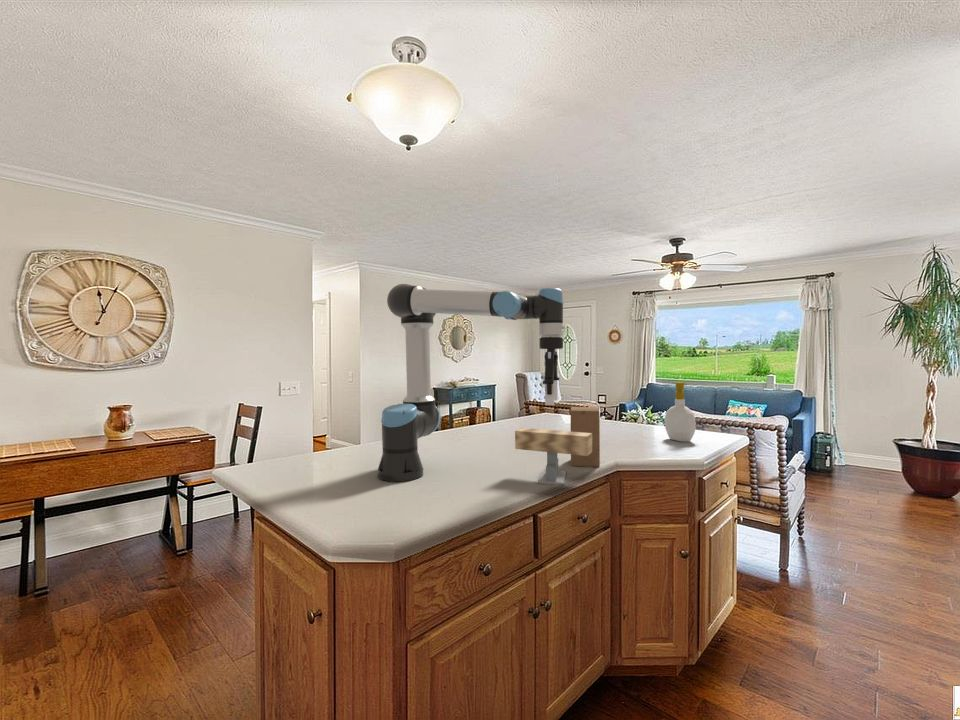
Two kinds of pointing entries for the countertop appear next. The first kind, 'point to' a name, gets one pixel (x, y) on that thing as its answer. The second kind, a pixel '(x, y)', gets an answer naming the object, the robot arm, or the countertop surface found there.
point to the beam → (554, 441)
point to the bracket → (552, 471)
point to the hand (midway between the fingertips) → (551, 402)
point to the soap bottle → (680, 418)
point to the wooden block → (586, 423)
